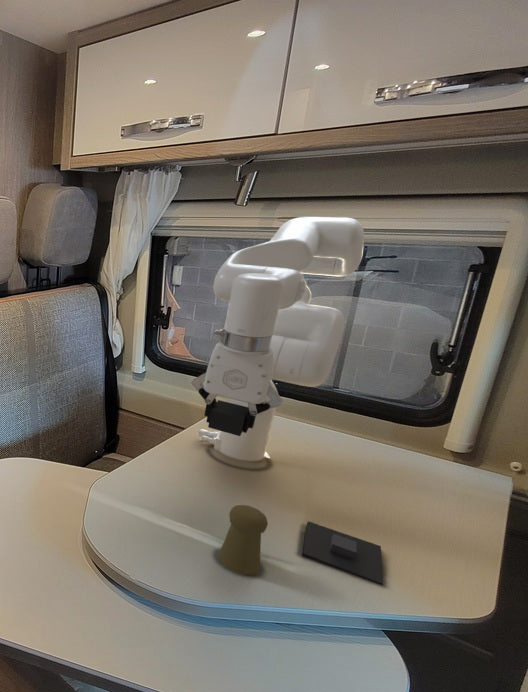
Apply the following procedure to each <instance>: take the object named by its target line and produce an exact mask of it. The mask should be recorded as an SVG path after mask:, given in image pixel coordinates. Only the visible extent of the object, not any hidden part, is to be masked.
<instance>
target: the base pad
mask: <svg viewBox="0 0 528 692" xmlns="http://www.w3.org/2000/svg"><path fill="white" fill-rule="evenodd" d="M301 556H302V557H304V558H306V559H309V560H311V561H314V562H318V563H320V564H322V565H325V566H328V567H330V568H333V569H337V570H339V571H342V572H344V573H346V574H347V573H348V574H350V575H353V576H355V577H357V578H358V577H359V578H361V579H363V580H367V581H369V582H372V583H374V584H377V585H380V586H382V585H383V566H382V565H383V563H382V546H381V545H379V544H376V543H373V542H370V541H367V540H364V539H361V538H359V537H357V536H352V535H349V534H347V533H344V532H341V531H338V530H335V529H332V528H329V527H326V526H324V525H320V524H318V523H314V522H312V521H309V520H308V521H307V522H306V525H305V532H304V539H303V546H302V553H301Z"/></svg>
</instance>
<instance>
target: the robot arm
mask: <svg viewBox="0 0 528 692" xmlns="http://www.w3.org/2000/svg"><path fill="white" fill-rule="evenodd" d="M364 245H365V230H364V226H363V225H362V223H361V222H360V221H359V220H358V219H356V218H353V217H337V216H336V217H334V216H331V217H330V216H301V217H300V216H299V217H295V218H291V219H289V220H287V221H285V222H284V223H283V224H282V225H281V226H280V227H279V228H278V230H277V231H276V232H275V233H274V235H273V236H272V237H271V239H270V240H269V241H267V242H262V243H259V244H256V245H253V246H248V247H246V248H243V249H240V250H237V251H235V252H234V253H232V254H231V255H230V256H229V257H228V258H226V260H225V261H224V262H223V263H222V265H221V266H220V268H219V269H218V271H217V273H216V275H215V277H214V280H213V283H212V289H213V293H214V296H215V297H216V298H217V299H219V300H220V301H222V302H223V301H224V302H228V307H227V312H226V316H225V321H224V322H225V323H224V326H223V327H224V328H222V329H214V332H213V337H217V338H218V339H219V340H220V341H218V342H217V343H215V346H214V348H213V349H212V353H211V356H210V359H209V361H208V365H207V368H206V372H204V373H202V374H200V375H199V376H197V377H195V378H194V379H193V380H191V382H190V384H191V386H193V388H194V389H195V390H196V391H197V392H198V394H199V395H200V397H202V399H203V400H204V403H205V404H206V405H205V409H204V414H203V415H204V417H206V421H205V422H206V423H208V424H209V420H210V415H211V410H212V409H213V407H214V406H215V405H216V403H217V399H216V397H222V398H226V402H229V403H233V404H237V405H241V406H245V407H249V410H248V412H247V414H246V416H245V421H244V425H243V429H242V431H243V432H242V434H241V435H240V436H237V435H233V434H230V433H226V432H223V431H219V430H218V431H213V432H212V431H210V430H207V429H202V428H200V429H199V430H198V436H197V437H201V442H205V443H209V444H211V445H213V450H214V451H218V452H219V453H221V454H222V455H224V456H227V457H229V458H231V459H235V460H238V461H241V462H242V461H243V462H250V463H254V462H260V461H262V460H263V459H264V458H268V459H271V456H270V455H269V453H268V452H267V451H266V450H267V446H268V442H269V437H270V433H271V429H272V426H273V421H274V419H275V414H276V410H277V407H279V406H281V405H283V402H284V401H283V398H282V397H281V396H280V395H279V391H278V389H277V387H276V385H275V383H274V381H279V382H284V383H288V384H292V385H298V386H303V387H309V388H315V387H319V386H321V385H323V384H324V383H325V381H326V380H327V379H328V377H329V375H330V373H331V370H332V367H333V365H334V361H335V359H336V356H337V353H338V350H339V348H340V344H341V343H342V342H341V341H342V338H343V335H344V332H345V325H346V319H345V315H344V314H343V312H342V311H340V310H339V309H337V308H335V307H331V306H324V305H316V304H310V302H311V300H312V292H311V290H310V288H309V287H308V285H307V280H306V279H305V276H304V275H305V274H306V275H317V276H328V277H329V276H330V277H347V276H350V275H352V274H353V273H354V272H356V270H357V269H358V267H360V264H361V262H362V259H363V256H364Z"/></svg>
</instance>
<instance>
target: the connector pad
mask: <svg viewBox="0 0 528 692" xmlns="http://www.w3.org/2000/svg"><path fill="white" fill-rule="evenodd" d="M216 402H217V403H216V405H215V406H214V407H213V409H212V410H211V415H210V420H209V423H208V425H207V427H208V428H209V429H213V430H216V431H218V432H219V431H223V432H226V433H230V434H233V435H237V436H240V435H241V434H242V432H243V431H242V429H243V425H244V421H245V416H246V414H247V412H248V410H249V407H245V406H241V405H237V404H233V403H229V402H227V401H224V400H220V399H218V400H216Z"/></svg>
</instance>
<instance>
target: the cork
mask: <svg viewBox="0 0 528 692" xmlns="http://www.w3.org/2000/svg"><path fill="white" fill-rule="evenodd" d="M228 519H229V522H230V526H229V528H228V531H227V533H226V536H225V538H224V541H223V542H222V545H221V548H220V550H219V552H218V554H217V555H218V560H219V561H220V563H221V564H222V565H223V566H224V567H226V568H227V569H229V570H230V571H232V572H234V573H236V574H239V575H240V574H241V575H244V576H256V575H257V574H259V572H260V569H261V568H260V567H261V546H262V545H261V544H262V534H263V533H265V531H266V530H267V528H268V524H269V523H268V518H267V516H266V515H265V514H264V512H263V511H261V510H260V509H258V508H256V507H254V506H251V505H248V504H238V505H234V506H232V507H231V509H230V510H229V514H228Z"/></svg>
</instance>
